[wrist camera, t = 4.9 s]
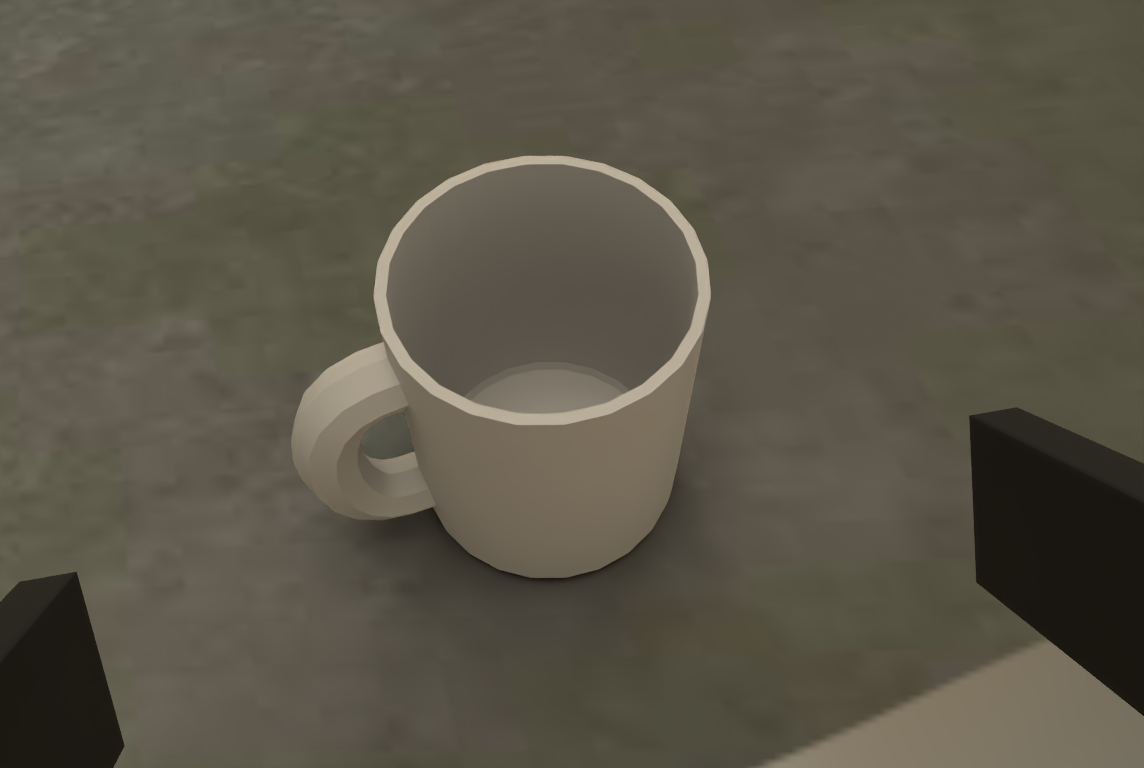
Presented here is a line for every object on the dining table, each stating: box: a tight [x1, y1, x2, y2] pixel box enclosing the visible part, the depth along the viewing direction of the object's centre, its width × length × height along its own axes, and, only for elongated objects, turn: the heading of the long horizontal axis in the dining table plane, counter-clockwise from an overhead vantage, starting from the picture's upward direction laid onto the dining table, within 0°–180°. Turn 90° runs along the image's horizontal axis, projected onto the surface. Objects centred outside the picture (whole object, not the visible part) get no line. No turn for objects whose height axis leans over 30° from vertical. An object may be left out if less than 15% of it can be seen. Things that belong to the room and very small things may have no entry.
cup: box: [291, 156, 711, 578], centre depth 25 cm, size 7×10×9 cm
